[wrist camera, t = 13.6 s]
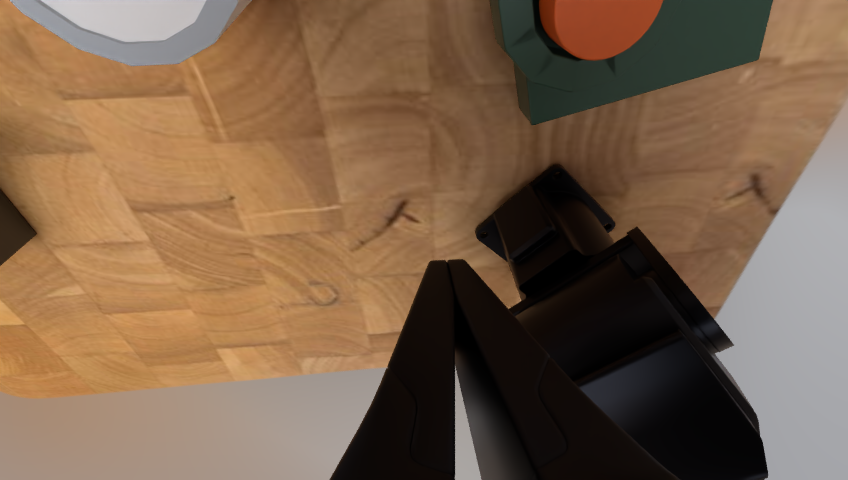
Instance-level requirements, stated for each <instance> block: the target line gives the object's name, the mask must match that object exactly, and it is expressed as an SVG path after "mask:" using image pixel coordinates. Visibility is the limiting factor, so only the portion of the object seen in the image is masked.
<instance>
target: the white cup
mask: <svg viewBox="0 0 848 480" xmlns="http://www.w3.org/2000/svg"><path fill="white" fill-rule="evenodd" d="M10 1H11V2H12V3H13V4H14V5H15V6H16V7H17V8H18V9H19V10H20V11H21V12H22V13H23V14H25V15H26V16H28V17H30V18H31V19H33V20H34V21H36V22H37V23H39V24H40V25H42V26H43V27H45V28H47V29H48V30H50V31H51V32H53V33H54V34H56V35H57V36H59V37H61V38H62V39H64V40H65V41H67V42H68V43H70V44H71V45H73V46H74V47H76V48H78V49H80V50H83V51H86V52H89V53H92V54H96V55H99V56H102V57H105V58H108V59H111V60H115V61H118V62H121V63H124V64H127V65H130V66H143V65H164V64H179V63H181V62H183V61H184V60H186V59H188V58H190V57H191V56H193V55H195V54H196V53H198V52H200V51H202V50H203V49H205V48H207V47H209V46H210V45H212V44H214V43H215V42H216V41H217V40H218V39H219V38H220V36H221V35H222V34H223V33H224V32H225V31H226V30H227V28H228V27H229V26H230V25H231V24H232V23H233V22H234V20H235V19H236V18H237V17H238V16H239V15H240V13H241V12H242V11H243V10H244V9H245V8H246V7H247V5H248V4H249V3H250V2H251V1H252V0H10Z"/></svg>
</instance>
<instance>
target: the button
mask: <svg viewBox="0 0 848 480" xmlns="http://www.w3.org/2000/svg"><path fill="white" fill-rule="evenodd" d="M662 3H663V0H539V13H540V19H541V23H542V26H543V28H544V30H545V32H546V33H547V35H548V36H549V37H550V38H551V40H553V41H554V42H555V43H556V44H558V45H559V46H560V47H562V48H563V49H565V50H566V51H567V52H569V53H570V54H572V55H574V56H575V57H578V58H580V59H584V60H592V61H596V60H603V59H607V58H610V57H613V56H616V55H618V54H620V53H622V52H623V51H625V50H627V49H628V48H630V47H631V46H632V45H633V44H635V43H636V42H637V41H638V40H639V39H640V38H641V37H642V36H643V35H644V34H645V32H646V31H647V30H648V29H649V27H650V26H651V25H652V23H653V21H654V20H655V18H656V16H657V14H658V12H659V10H660V8H661V5H662Z"/></svg>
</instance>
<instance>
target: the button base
mask: <svg viewBox="0 0 848 480" xmlns="http://www.w3.org/2000/svg"><path fill="white" fill-rule="evenodd" d="M772 2H773V0H663V3H662V5H661V8H660V10H659V12H658V14H657V16H656V18H655V20H654V21H653V23H652V25H651V26H650V27H649V29H648V30H647V31H646V32H645V34H644V35H643V36H642V37H641V38H640V39H639V40H638V41H637V42H636V43H635V44H633V45H632V46H631V47H630V48H628V49H627V50H625V51H623V52H622V53H620V54H618V55H616V56H613V57H610V58H607V59H603V60H596V61H592V60H584V59H580V58H578V57H575V56H574V55H572V54H570V53H569V52H567V51H566V50H565V49H563V48H562V47H560V46H559V45H558V44H556V43H555V42H554V41H553V40H551V38H550V37H549V36H548V35H547V33H546V32H545V30H544V28H543V26H542V23H541V19H540V13H539V0H490V6H491V13H492V19H493V26H494V33H495V39H496V41H497V43H498V44H499V45H500V46H501V48H502V49H503V50H504V51H505V52H506V54H507V55H508V56H509V57H510V58H511V60H512V61H513V63H514V71H515V78H516V86H517V94H518V101H519V108H520V109H521V111H522V112H523V114H524V115H525V116H526V118H527V119H528V121H529V122H530V123H531V125H536V124H539V123H542V122H546V121H549V120H553V119H556V118H560V117H563V116H567V115H570V114H574V113H577V112H580V111H584V110H587V109H591V108H594V107H598V106H601V105H605V104H608V103H611V102H615V101H618V100H622V99H625V98H629V97H632V96H636V95H639V94H642V93H646V92H649V91H653V90H656V89H660V88H663V87H667V86H670V85H673V84H677V83H680V82H684V81H687V80H691V79H694V78H698V77H701V76H704V75H708V74H711V73H715V72H718V71H722V70H725V69H729V68H732V67H735V66H739V65H742V64H746V63H749V62H753V61H756V60H758V59H759V55H760V51H761V47H762V43H763V39H764V35H765V31H766V27H767V23H768V19H769V15H770V10H771V6H772Z"/></svg>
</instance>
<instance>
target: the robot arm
mask: <svg viewBox="0 0 848 480" xmlns="http://www.w3.org/2000/svg"><path fill="white" fill-rule="evenodd" d="M556 172H559V174H558V175H557V176H553V175H554V173H556ZM607 223H608V224H607ZM605 224H607V225H606V226H604V225H605ZM614 227H615V222H614V221H613V219H612V218H611V217H610V216H609V215H608V214H607V213H606V212H605V211H604V210H603V209H602V208H601V206H600V205H599V204H598V203H597V202H596V201H595V200H594V199H593V198H592V197H591V196H590V195H589V194H588V193H587V192H586V191H585V190H584V189H583V188H582V187H581V186H580V184H579V183H578V182H577V181H576V180H575V179H574V178H573V177H572V176H571V175H570V174H569V173H568V172H567V171H566V170H565V169H564V168H563V167H562V166H561V165H557V164H556V165H553V166H551V167H550V168H548V169H547V170H546V171H545V172H543V173H542V174H541V175H540V176H539V177H537V178H536V179H535V180H534V181H533V182H531V183H530V184H529V185H528V186H526V187H524V188H523V189H522V190H520V191H519V192H518V193H517V194H516V195H514V196H513V197H512V198H511V199H510V200H508V201H507V202H506V203H505V204H504V205H502V206H501V207H500V208H499V209H498V210H496V211H495V212H494V214H493V215H492V216H490V217H489V218H488V219H487V220H485V221H484V222H483V223H482V224H481V225H479V226H478V227H477V228H476V230H475V233H476V237H477V239H478V240H479V241H481V242H482V243H483V244H485V245H486V246H487V247H489V248H490V249H491V250H493V251H494V252H495V253H496V254H498V255H499V256H500V257H502V258H503V259H504V260H506V261H507V262H508V263H509V266H510V269H511V272H512V275H513V278H514V280H515V283H516V286H517V289H518V292H519V295H520V298H521V300H522V301H521V302H519V303H518V304H516V305H514V306H513V307H511V308H510V309H508V308H507V307H506V306H505V305H504V304H503V303H502V301H501V300H500V299H499V298H498V297H497V296H496V295H495V294H494V292H493V291H492V290H491V289H490V288H489V287H488V286H487V285H486V283H485V282H484V281H483V280H482V279H481V278H480V277H479V276H478V274H477V273H476V272H475V271H474V270H473V269H472V268H471V267H470V265H469V264H468V263H467V262H466V261H465V260H463V259H455V260H448V261H447V262H446V261H445V260H433V261H430V262H429V264H428V266H427V268H426V271H425V274H424V276H423V279H422V281H421V284H420V286H419V289H418V291H417V294H416V296H415V299H414V301H413V304H412V306H411V309H410V311H409V314H408V316H407V319H406V321H405V324H404V326H403V329H402V331H401V334H400V336H399V339H398V341H397V344H396V346H395V349H394V351H393V354H392V356H391V359H390V361H389V364H388V368H387V369H386V371H385V373H384V376H383V378H382V381H381V383H380V386H379V388H378V390H377V392H376V395H375V397H374V399H373V401H372V404H371V406H370V407H369V409H368V411H367V413H366V415H365V417H364V419H363V421H362V423H361V425H360V427H359V429H358V430H357V432H356V434H355V436H354V437H353V439H352V441H351V443H350V444H349V446H348V448H347V450H346V452H345V453H344V455H343V457H342V459H341V460H340V462H339V464H338V466H337V468H336V470H335V471H334V473H333V475H332V477H331V478H330V480H455V366H456V370H457V374H458V378H459V383H460V388H461V392H462V396H463V401H464V405H465V409H466V414H467V418H468V422H469V427H470V431H471V435H472V439H473V444H474V448H475V453H476V456H477V461H478V465H479V470H480V474H481V479H482V480H764V479H765V478H768V470H767V464H766V458H765V453H764V447H763V442H762V439H761V437H760V431H759V422H758V418H757V415H756V413H755V412H754V410H753V408H752V407H751V405H750V404H749V402H748V401H747V399H746V397H745V396H744V394H743V393H742V391H741V390H740V388H739V386H738V385H737V383H736V382H735V380H734V379H733V377H732V376H731V375H730V373H729V372H728V371H727V369H726V368H725V367H724V365H723V364H722V363H721V361H720V360H719V359H718V358H717V356H716V355H715V353H717V352H721V351H723V350H725V349H727V348H729V347H732V346H734V345H733V343H732V342H731V341H730V339H729V338H728V337H727V335H726V334H725V333H724V331H723V330H722V329H721V328H720V327H719V325H718V324H717V323H716V321H715V320H714V319H713V317H712V316H711V315H710V314H709V312H708V311H707V310H706V309H705V307H704V306H703V305H702V304H701V302H700V301H699V300H698V299H697V298H696V296H695V295H694V294H693V293H692V291H691V290H690V289H689V288H688V286H687V285H686V284H685V283H684V282H683V280H682V279H681V278H680V277H679V275H678V274H677V273H676V272H675V271H674V269H673V268H672V267H671V266H670V265H669V264H668V262H667V261H666V260H665V259H664V258H663V256H662V255H661V254H660V253H659V252H658V251H657V249H656V248H655V247H654V246H653V245H652V243H651V242H650V241H649V240H648V239H647V238H646V236H645V235H644V234H643V233H642V232H641V230H640V229H639V228H638V227H635V228H634V229H632V230H631V231H629V232H627V234H628V235H627V236H625V237H624V238H622V239H620V240H619V241H617V242H615V243H614V241H613V240H612V238H611V237H610V236H609V234H608V233H609V232H610V231H612V230H613V229H614ZM482 232H486V233H485V234H481V233H482Z"/></svg>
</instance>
